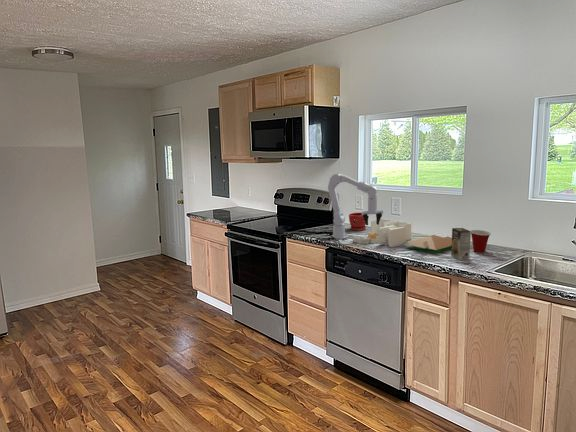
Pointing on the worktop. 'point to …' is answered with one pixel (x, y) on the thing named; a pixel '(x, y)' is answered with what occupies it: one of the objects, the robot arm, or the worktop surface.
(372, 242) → the frame
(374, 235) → the orange block
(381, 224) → the white slotted rack
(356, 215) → the plant pot
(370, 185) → the robot arm
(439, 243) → the house
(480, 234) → the plastic cup
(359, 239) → the clip
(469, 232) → the coffee box
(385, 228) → the cable organizer
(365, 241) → the clip
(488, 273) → the worktop surface
